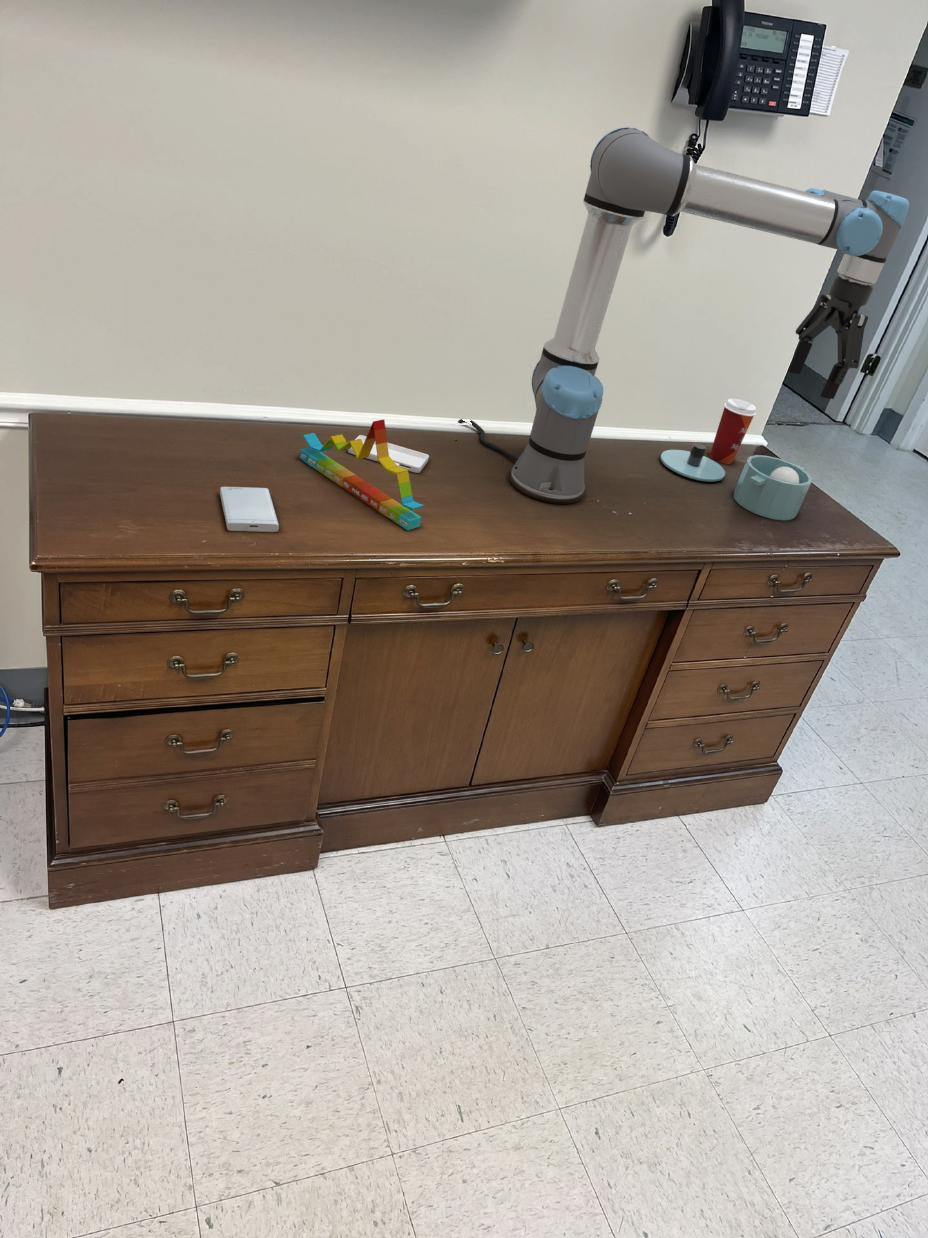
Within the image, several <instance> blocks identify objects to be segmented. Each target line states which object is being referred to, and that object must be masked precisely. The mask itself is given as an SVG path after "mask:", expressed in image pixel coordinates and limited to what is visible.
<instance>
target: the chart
mask: <svg viewBox="0 0 928 1238" xmlns="http://www.w3.org/2000/svg"><path fill="white" fill-rule="evenodd" d="M302 436H303V439H304V441H305V442H306V444H307V445H308V447H305V448H300V449H299V458H298V459H300V460H301V461H302V462H304V463H305V464H307V465H308V466H310V467H312V468H313V469H314V470H316V471H318V472H319V473H321V474H322V475H324V476H325V477H327V478H328V479H329V480H331V481H332V482H333V483H335V484H337V485H339V486H340V487H342V488H343V489H345V490H346V491H347V492H349V493H350V494H352V495H353V496H355V497H356V498H358V499H359V500H361V501H362V502H364V503H365V504H367V505H368V506H370V507H371V508H373V509H374V510H376V511H377V512H379V513H380V514H382V515H383V516H385V517H387V518H388V519H389V520H390V521H393V522H394V523H395V524H397V525H399V526H400V527H402V529H405V530H406V531H411V530H413V529H417V528H420V526H421V521H422V516H420V515H419V514H417V513H415V512H414V511H415V510H419V509H422V508H424V507H425V506H424V504H421V503H420V502H417V501H414V497H413V492H412V485H411V480H410V475H409V471H408V470H406V469H404V468H401V467H398V466H397V465H396V464H395V462H394V461H393V460H392V459H391V458H390V456H389V452H388V444H387V443H388V437H387V429H386V422H385V419H379V420H378V419H377V420H374V421H372V423H371V425H370V428H369V430H368V432H367V435H366V436H367V437H366V439H365V442H364V444H363V442H362V440H361V439H357V440H355V439H353V440H349V441H347V440H346V438H345V437H344V435H343V434H336V435H331V436H330V437H329V438H328V439H327V440H326V442H325V443H324V444H322V442H321V441H320V439H319V438H318V436H317V435H316V433H315V432H311V433H307V434H303V435H302ZM375 442H376V450H377V458H378V461H379V462H378V461H377V462H378V463H379V464H380V465H381V466H382V468H383V469H384V470H385V471H386V472H388V473H391V474H394V475H396V479H397V484H398V485H397V486H398V489H399V497H400V501H401V503H400V502H398V501H397V500H395V499H394V498H392V497H391V496H389V495H387V494H386V493H384V491H381V490H380V489H378V488H377V487H375V486H374V485H372V484H371V483H369V482H368V481H366V480H364V479H363V478H361V476H358V475H357V474H355V473H354V472H352V471H351V470H349V469H348V468H346V467H345V466H343V465H341V464H340V463H338V462H337V461H336V460H334V459H332V458H331V457H329V456H328V455H326V454H325V453H323V452H326V451H330V450H332V449H333V447H334V446H335V448H336V450H337V451H338V452H341V451H348V449H350V448H351V447H352V449H353V451H354V453H355V455H354V456H355V458H356V460H362V459H367V457H369V454H370V452H371V450H372V447H373V445H374V443H375Z"/></svg>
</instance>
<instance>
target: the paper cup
mask: <svg viewBox="0 0 928 1238" xmlns="http://www.w3.org/2000/svg"><path fill="white" fill-rule="evenodd" d="M723 407H724V408H723V411H722V414H721V418H720V421H719V424H718V427H717V430H716V433H715V437H714V440H713V443H712V446H711V449H710V453H709V457H710V459H711V460H713V461H715V462H716V463H720V464H726V465H729V464H732V463H733V461H734V460H735V458H736V455H737V453H738V451H739V449H740V447H741V445H742V443H743V440H744V438H745V436H746V434H747V432H748V429H749V428H750V426H751V424H752V421H753V419H754V417H755V416H756V415H757V407H756V406H755V405H754V404H753V403H751V402H749V401H746V400H743V399H740V398H728V399H727V400H726V402H724V404H723Z"/></svg>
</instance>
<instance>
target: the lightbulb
mask: <svg viewBox="0 0 928 1238" xmlns="http://www.w3.org/2000/svg"><path fill="white" fill-rule="evenodd" d="M769 477H772V478H774V479H777V480H780V481H784V482H789V483H798V484H799V476H798V474H797V472H796V471H795V470H794V469H792V468H790V467H779V468H777V469H775V470H774V471H773V472H772V473H771V474H770V476H769Z"/></svg>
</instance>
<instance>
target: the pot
mask: <svg viewBox="0 0 928 1238" xmlns="http://www.w3.org/2000/svg"><path fill="white" fill-rule="evenodd" d="M779 467H790V468H792V469H794V470H795V471H796V472H797V474H798V476H799V484H798V483H789V482H784V481H780V480H777V479H774V478H772V477H769V476H770V474H771V473H772V472H773V471H774V470H775V469H777V468H779ZM812 483H813V478H812V476H811V475H810V474H809V472H807V471H806V470H805V468H804V467H802V466H800V465H799V464H796V463H795V464H794V463H792V462H790V461H787V460H784V459H781V458H778V457H774V456H769V455H761V454H755V455H751V456H748V458H747V459H746V461H745V464H744V467H743V468H742V471H741V473H740V476H739V479H738V481H737V484H736V486H735V489H734V491H733V493H732V494H733V499H734V501H735V502H736V503H737V504H738V505H739V506H741V507H742V508H743V509H745V510H747V511H749V512H751V513H753V514H755V515H758V516H761V517H763V518H767V519H771V520H775V521H791V520H793V519H795V518H796V517H797V515H798V513H799V511H800V509H801V506H802V504H803V502H804V500H805V497H806V495H807V493H808V491H809V489H810V487H811V485H812Z"/></svg>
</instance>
